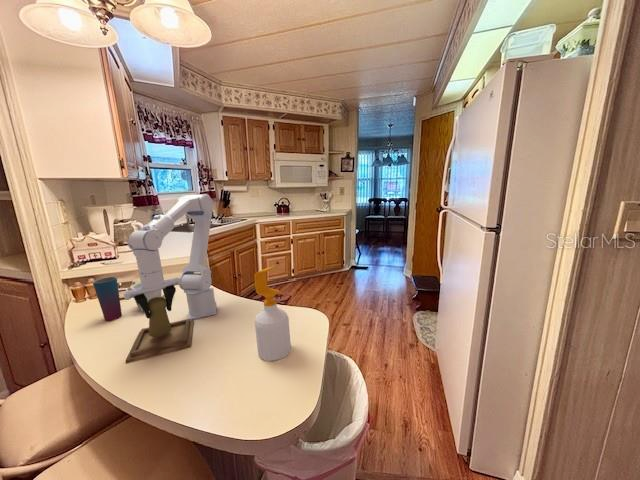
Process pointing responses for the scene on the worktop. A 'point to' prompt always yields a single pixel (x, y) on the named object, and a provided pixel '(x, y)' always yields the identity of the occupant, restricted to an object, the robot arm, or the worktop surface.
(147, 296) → the mug
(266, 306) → the soap bottle
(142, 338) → the spice tray
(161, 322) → the olive-green waisted figurine
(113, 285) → the cup
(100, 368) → the worktop surface
